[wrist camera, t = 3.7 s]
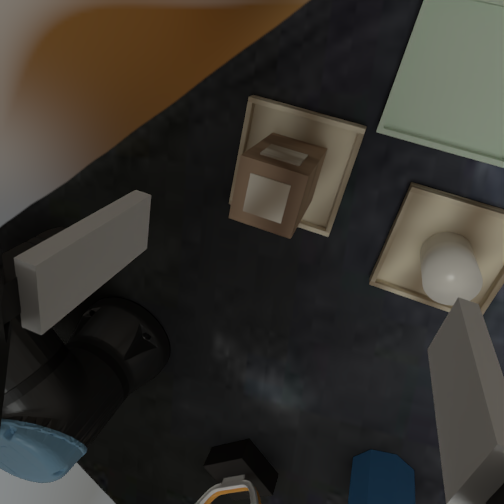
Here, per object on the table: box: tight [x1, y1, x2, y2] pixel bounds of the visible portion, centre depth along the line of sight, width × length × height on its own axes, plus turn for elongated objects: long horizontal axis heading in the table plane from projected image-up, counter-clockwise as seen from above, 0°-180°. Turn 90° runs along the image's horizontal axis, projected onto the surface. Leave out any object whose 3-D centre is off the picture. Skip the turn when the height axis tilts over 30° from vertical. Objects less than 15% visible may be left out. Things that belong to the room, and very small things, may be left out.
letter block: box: [229, 133, 327, 239], centre depth 39 cm, size 6×6×10 cm
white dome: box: [420, 232, 483, 305], centre depth 39 cm, size 5×5×6 cm
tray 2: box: [376, 0, 504, 168], centre depth 34 cm, size 12×12×2 cm
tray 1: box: [229, 95, 367, 237], centre depth 43 cm, size 12×12×2 cm
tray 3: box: [369, 182, 504, 315], centre depth 42 cm, size 12×12×2 cm
